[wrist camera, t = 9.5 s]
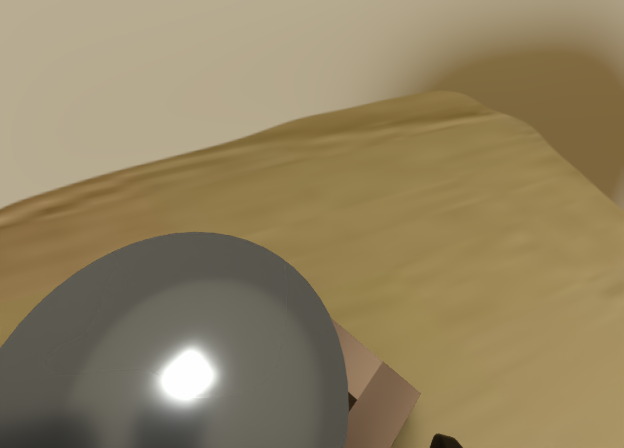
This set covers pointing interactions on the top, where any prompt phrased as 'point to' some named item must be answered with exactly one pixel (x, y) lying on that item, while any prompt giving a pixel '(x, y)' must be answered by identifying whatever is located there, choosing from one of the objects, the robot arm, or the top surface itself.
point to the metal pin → (177, 354)
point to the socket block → (373, 396)
